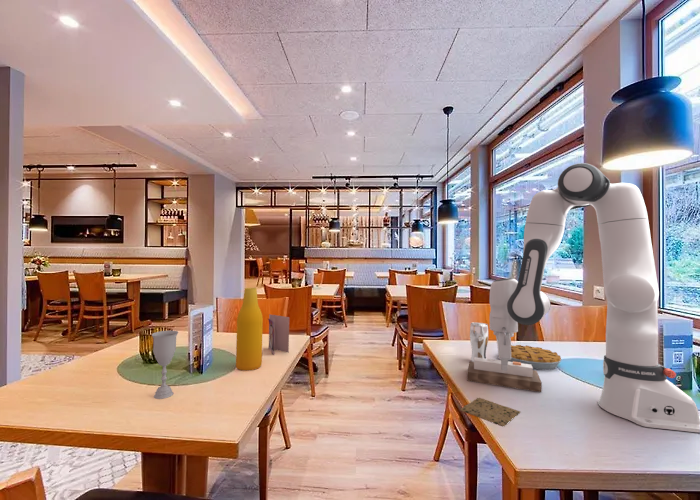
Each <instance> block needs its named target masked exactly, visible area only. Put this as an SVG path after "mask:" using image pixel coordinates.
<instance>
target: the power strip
mask: <svg viewBox="0 0 700 500" xmlns="http://www.w3.org/2000/svg"><path fill="white" fill-rule="evenodd" d="M474 369H477V370H484V371H491V372H498V373H506V374H513V375H520V376H527V377H533V370H534V369H533V367H532V365H531V364H524V363H521V362H514V361H513V362H508V365H507V371H503V370H502V369H501V361H500V359H491V358H486V359H485V358H477V357H475V358H474Z"/></svg>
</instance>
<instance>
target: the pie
mask: <svg viewBox="0 0 700 500" xmlns="http://www.w3.org/2000/svg"><path fill="white" fill-rule="evenodd" d="M513 361H514V362H521V363H524V364H531V365H532V367H533V370H541V371H542V370H544V371H545V370H546V371H547V370H555V369H557V367H558V365H559V364H560V363H561V362H562V357H561V355H558V353H557V352H555V351H554V352H553V351H552V350H550V349H546V348H545V349H544V348H543V347H538V346H536V347H535V346H530V345H521V344H516V345H513V344H511V360H508V362H513Z"/></svg>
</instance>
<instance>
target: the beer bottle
mask: <svg viewBox="0 0 700 500" xmlns="http://www.w3.org/2000/svg"><path fill="white" fill-rule="evenodd" d="M257 289H258V288H257V287H245V288H244V291H243V297H242V298H243V300H242V304H241V307H240V309H239V312H238V314H237V318H236V344H235V345H236V349H235V350H236V351H235V352H236V353H235V355H236V356H235V368H236V369H237V370H238V371H243V372H244V371H255V370H257V369H260V367H262V363H263V323H264V321H263V320H264V319H263V317H264V316H263V313H262V310H261V308H260V306H259V301H258V291H257Z"/></svg>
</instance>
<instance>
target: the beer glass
mask: <svg viewBox="0 0 700 500" xmlns="http://www.w3.org/2000/svg"><path fill="white" fill-rule="evenodd" d="M469 326H470V327H469V328H470V329H469V338H470V339H469V340H470V346H471V355H470V356H471V357H470V362H474V358H475V357H477V358H485V359H487V347H488V342H489V324H488V323H483V322H470V325H469Z"/></svg>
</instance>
